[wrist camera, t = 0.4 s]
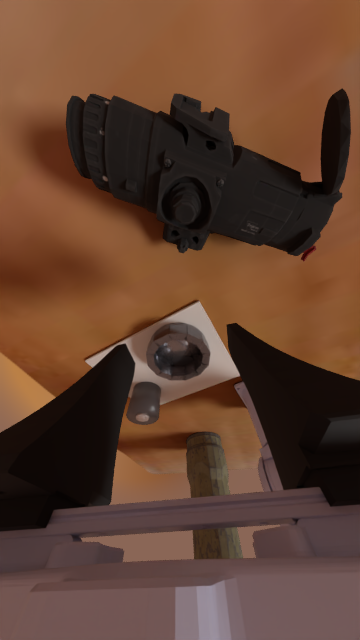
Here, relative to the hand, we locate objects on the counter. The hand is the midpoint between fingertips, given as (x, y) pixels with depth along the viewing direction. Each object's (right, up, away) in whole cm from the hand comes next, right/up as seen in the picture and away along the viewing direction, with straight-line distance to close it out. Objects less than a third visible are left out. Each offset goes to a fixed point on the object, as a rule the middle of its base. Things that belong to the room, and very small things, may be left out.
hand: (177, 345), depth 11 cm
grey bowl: (0, -2, +12) cm, 12 cm away
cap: (-6, -11, +17) cm, 21 cm away
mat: (-2, -6, +15) cm, 16 cm away
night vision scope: (+2, +13, +4) cm, 14 cm away
